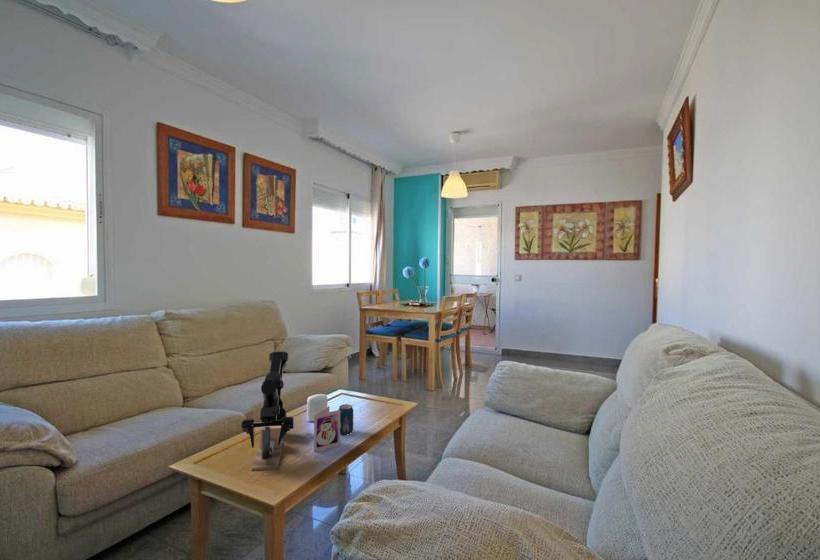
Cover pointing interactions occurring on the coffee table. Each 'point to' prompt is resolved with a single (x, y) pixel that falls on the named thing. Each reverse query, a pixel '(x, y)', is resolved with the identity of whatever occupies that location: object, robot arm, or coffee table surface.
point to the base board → (267, 464)
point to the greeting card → (326, 429)
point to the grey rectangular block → (272, 446)
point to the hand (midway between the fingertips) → (265, 446)
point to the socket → (272, 434)
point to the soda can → (346, 419)
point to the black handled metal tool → (266, 443)
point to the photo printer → (315, 405)
